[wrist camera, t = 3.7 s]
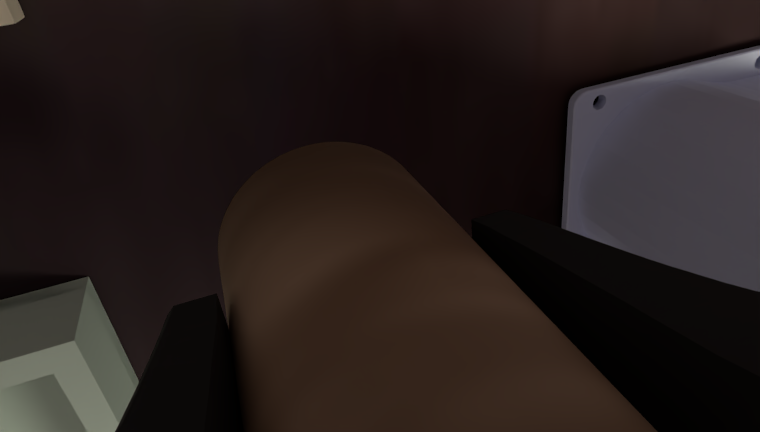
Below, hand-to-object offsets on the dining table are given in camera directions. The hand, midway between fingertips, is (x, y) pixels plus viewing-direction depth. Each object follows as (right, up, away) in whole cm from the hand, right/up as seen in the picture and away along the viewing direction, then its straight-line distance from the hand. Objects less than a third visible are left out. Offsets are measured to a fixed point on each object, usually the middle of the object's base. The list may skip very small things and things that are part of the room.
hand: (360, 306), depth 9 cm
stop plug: (-1, +1, +2) cm, 2 cm away
